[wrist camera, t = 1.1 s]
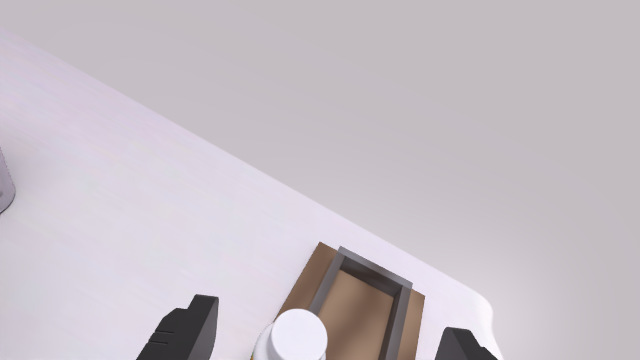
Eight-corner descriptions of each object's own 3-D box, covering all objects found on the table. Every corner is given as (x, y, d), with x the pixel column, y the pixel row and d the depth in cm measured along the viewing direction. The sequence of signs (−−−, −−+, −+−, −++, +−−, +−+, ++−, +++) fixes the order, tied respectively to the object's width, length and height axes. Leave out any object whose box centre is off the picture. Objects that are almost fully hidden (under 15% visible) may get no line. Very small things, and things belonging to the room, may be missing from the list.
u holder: (267, 334, 32) (273, 315, 30) (317, 246, 43) (325, 228, 40) (402, 412, 30) (419, 398, 28) (421, 300, 41) (435, 283, 38)
